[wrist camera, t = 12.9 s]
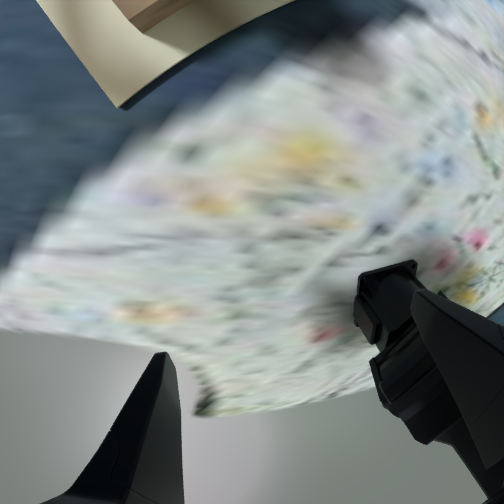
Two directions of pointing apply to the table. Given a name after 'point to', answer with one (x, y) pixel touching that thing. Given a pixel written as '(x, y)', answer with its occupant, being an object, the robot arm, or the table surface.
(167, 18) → the socket
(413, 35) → the table surface
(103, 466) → the robot arm
